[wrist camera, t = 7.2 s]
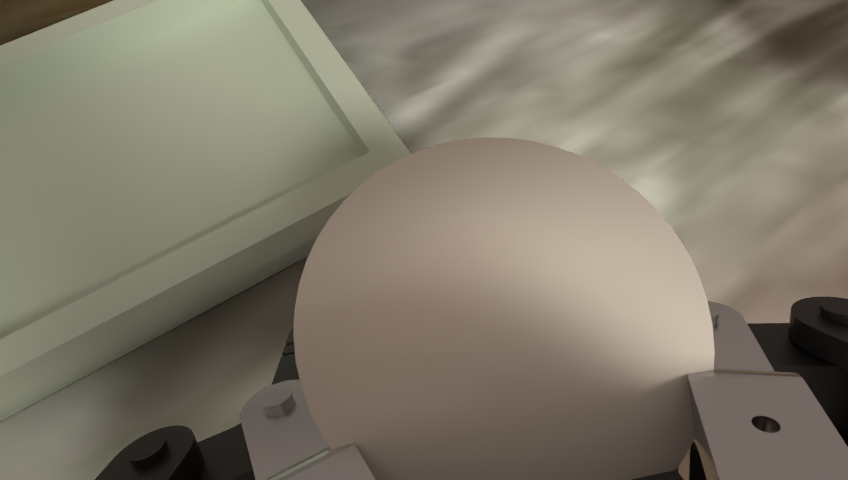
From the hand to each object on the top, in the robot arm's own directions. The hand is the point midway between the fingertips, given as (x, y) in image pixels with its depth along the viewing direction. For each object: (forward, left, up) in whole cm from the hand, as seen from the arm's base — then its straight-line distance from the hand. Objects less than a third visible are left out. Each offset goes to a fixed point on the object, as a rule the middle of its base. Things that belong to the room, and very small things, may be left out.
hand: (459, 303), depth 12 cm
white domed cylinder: (-1, -2, -4) cm, 5 cm away
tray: (-7, +13, -4) cm, 16 cm away
